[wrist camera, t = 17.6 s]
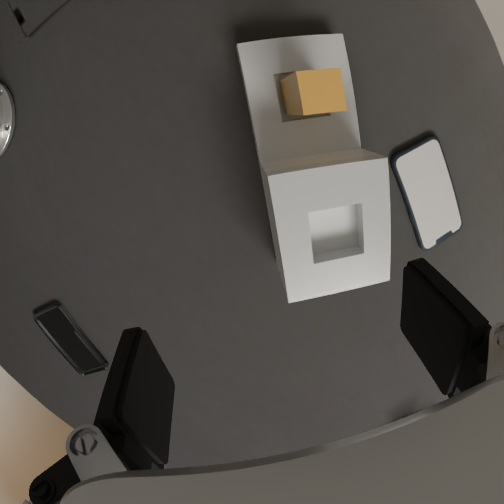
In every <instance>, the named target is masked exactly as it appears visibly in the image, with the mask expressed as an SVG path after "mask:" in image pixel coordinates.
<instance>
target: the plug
mask: <svg viewBox="0 0 504 504" xmlns="http://www.w3.org/2000/svg"><path fill="white" fill-rule="evenodd" d="M279 86H280V91H281V96H282V102H283V107H284V113H285V114H292V115H311V114H320V113H329V112H339V111H347V106H346V100H345V93H344V87H343V81H342V76H341V70H340V68H328V69H315V70H304V71H296V72H294V73H292V74H290V75H289V76H287V77H285V78H283V79H282V80H280V81H279Z"/></svg>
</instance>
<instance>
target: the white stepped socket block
mask: <svg viewBox="0 0 504 504" xmlns="http://www.w3.org/2000/svg"><path fill="white" fill-rule="evenodd" d="M236 49H237V54H238V59H239V64H240V69H241V74H242V78H243V83H244V88H245V93H246V98H247V103H248V109H249V114H250V119H251V124H252V129H253V134H254V139H255V145H256V150H257V155H258V161H259V166H260V171H261V177H262V182H263V188H264V193H265V199H266V204H267V210H268V215H269V221H270V227H271V233H272V238H273V244H274V250H275V256H276V262H277V265H278V268H279V272H280V275H281V279H282V282H283V286H284V289H285V293H286V296H287V300H288V303H292V302H297V301H302V300H307V299H311V298H316V297H321V296H325V295H330V294H334V293H339V292H343V291H347V290H352V289H356V288H360V287H364V286H369V285H373V284H377V283H381V282H385V281H389V280H390V251H391V220H390V188H389V170H388V158H387V157H384V156H381V155H379V154H376V153H373V152H370V151H368V150H365V149H362V148H361V143H360V135H359V127H358V119H357V112H356V105H355V98H354V92H353V86H352V80H351V74H350V68H349V63H348V58H347V53H346V48H345V43H344V38H343V34H321V35H305V36H293V37H282V38H273V39H265V40H258V41H251V42H245V43H239V44H237V48H236ZM328 68H340V70H341V76H342V81H343V87H344V93H345V100H346V106H347V111H339V112H329V113H320V114H311V115H292V114H285V113H284V107H283V102H282V96H281V91H280V86H279V81H280V80H282V79H283V78H285V77H287V76H289V75H290V74H292V73H294V72H296V71H304V70H315V69H328Z"/></svg>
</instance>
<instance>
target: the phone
mask: <svg viewBox="0 0 504 504" xmlns="http://www.w3.org/2000/svg"><path fill="white" fill-rule="evenodd" d="M34 320H35V322H36V323H37V325H38V326H39V327H40V328H41V330H42V331H43V332H44V333H45V335H46V336H47V337H48V338H49V340H50V341H51V342H52V343H53V345H54V346H55V347H56V348H57V349H58V351H59V352H60V353H61V354H62V355H63V356H64V358H65V359H66V360H67V361H68V362H69V363H70V364H71V365H72V367H73V368H74V369H75V370H76V371H77V372H78V373H79V374H81V375H88V374H91V373H95V372H99V371H102V370H106V369H107V368H108V362H107V360H106V359H105V358H104V357H103V356H102V355H101V353H100V352H99V351H98V350H97V349H96V347H95V346H94V345H93V344H92V343H91V341H90V340H89V339H88V338H87V336H86V335H85V334H84V333H83V331H82V330H81V329H80V328H79V326H78V325H77V324H76V322H75V321H74V320H73V318H72V317H71V316H70V314H69V313H68V312H67V310H66V309H65V308H64V306H63V305H62V304H60V303H54V304H52V305H50V306H48V307H46V308H44V309H42V310H40V311H38V312H36V314H35V315H34Z"/></svg>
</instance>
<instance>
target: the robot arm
mask: <svg viewBox="0 0 504 504" xmlns="http://www.w3.org/2000/svg"><path fill="white" fill-rule="evenodd" d="M14 125H15V107H14V102H13V98H12V96H11V93H10V91H9V90H8V89H7V87H6V86H5V85H3V84H2V83H0V157H1V155H2V154H3V153H4V152H5V150H6V149H7V147H8V145H9V143H10V140H11V138H12V134H13V131H14ZM488 323H489V321H488V320H487V319H486V318H485V317H484V316H483V315H482V314H481V313H480V312H479V311H478V310H477V309H476V308H475V307H474V306H473V305H472V304H471V303H470V302H469V301H468V300H467V299H466V298H465V297H464V296H463V295H462V294H461V293H460V292H459V291H458V290H457V289H456V288H455V287H454V286H453V285H452V284H451V283H450V282H449V281H448V280H447V279H446V278H444V277H443V276H442V275H441V274H440V273H439V272H438V271H437V270H436V269H435V268H434V267H433V266H432V265H430V264H429V263H428V262H427V261H426V260H425V259H424V258H419V259H416V260H412V261H409V262H408V263H407V266H406V267H404V270H403V291H402V308H401V321H400V326H401V330H402V332H403V334H404V335H405V337H406V338H407V340H408V341H409V343H410V344H411V346H412V347H413V349H414V350H415V352H416V353H417V355H418V356H419V358H420V359H421V361H422V362H423V364H424V366H425V367H426V369H427V370H428V372H429V373H430V375H431V376H432V378H433V380H434V381H435V383H436V384H437V386H438V387H439V389H440V391H441V392H442V394H444V395H446V394H447V395H448V397H449V399H447V400H444V401H442V402H440V403H438V404H435V405H433V406H431V407H429V408H426V409H424V410H422V411H419V412H417V413H415V414H412V415H410V416H407V417H405V418H402V419H400V420H397V421H394V422H392V423H389V424H386V425H383V426H381V427H378V428H375V429H372V430H369V431H366V432H363V433H360V434H357V435H354V436H350V437H347V438H344V439H340V440H337V441H333V442H330V443H326V444H322V445H319V446H315V447H311V448H307V449H302V450H298V451H294V452H289V453H284V454H280V455H274V456H269V457H264V458H258V459H252V460H246V461H240V462H233V463H225V464H217V465H208V466H197V467H185V468H172V469H164V464H167V462H168V456H169V443H170V432H171V421H172V411H173V401H174V391H175V384H174V381H173V378H172V377H171V375H170V373H169V371H168V370H167V368H166V366H165V364H164V363H163V361H162V359H161V357H160V355H159V354H158V352H157V350H156V348H155V346H154V344H153V342H152V341H151V339H150V337H149V335H148V333H147V331H146V330H142V329H141V328H140V327H135V328H130V329H125V330H124V331H123V333H122V336H121V338H120V341H119V344H118V347H117V350H116V353H115V356H114V359H113V362H112V365H111V368H110V371H109V374H108V377H107V380H106V383H105V387H104V390H103V393H102V396H101V400H100V403H99V407H98V410H97V413H96V417H95V421H94V424H93V425H91V424H85V425H81V426H79V427H77V428H76V429H75V430H73V431H72V432H71V434H70V435H69V437H68V439H67V441H66V451H67V455H65V456H64V457H63V458H62V459H60V460H59V461H58V462H56V463H55V464H54V465H53V466H51V467H50V468H48V469H47V470H46V471H44V472H43V473H41V474H40V475H39V476H37V477H36V478H35V479H34V480H33V482H32V483H31V485H30V489H29V497H30V501H29V502H28V501H27V500H25V501H24V502H23V504H504V322H500V323H497V324H496V325H494V326H493V327H491V326H490V325H489V324H488Z"/></svg>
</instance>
